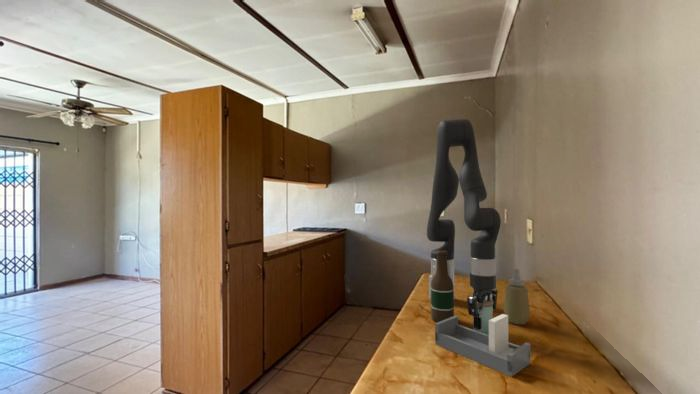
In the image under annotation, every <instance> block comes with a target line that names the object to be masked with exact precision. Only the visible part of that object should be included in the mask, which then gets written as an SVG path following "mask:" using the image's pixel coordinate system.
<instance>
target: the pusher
mask: <svg viewBox="0 0 700 394" xmlns="http://www.w3.org/2000/svg"><path fill="white" fill-rule="evenodd" d="M508 342H509V322H508V315H505V313H501V314H499V315H497V316H496V317H493V319H491V320H489V352H492V353H495V354H497V355H500V356H502V357H505V358H507V354H509V353H510V352H512V351H513V350H515V349H512V348H510V347H508Z"/></svg>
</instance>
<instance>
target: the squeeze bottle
mask: <svg viewBox="0 0 700 394" xmlns="http://www.w3.org/2000/svg"><path fill="white" fill-rule="evenodd" d="M503 301H504V302H503V312H504V314H505V315H508V323H511V324H514V325H518V326H519V325H526V324H527V323H528V320H529V318H530V315H531V311H530V309H531V308H530V303H529V302H530V301H529V293H528V288H527V287H526V286H525V280H524V279H522V278H521V274H520V271H519V268H514V269H513V273H512V277H511V278H509V279H508V284H507V285H505V294H504V300H503Z"/></svg>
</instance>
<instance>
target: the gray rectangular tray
mask: <svg viewBox="0 0 700 394" xmlns="http://www.w3.org/2000/svg"><path fill="white" fill-rule="evenodd" d="M434 330H435V331H434V332H435V333H434V335H435V336H434V339H435V340H434V341H435V342H434V343H435V345H436V346H439V347H441V348H444V349H446V350H448V351H451V352H452V353H455V354H457V355H460V356H461V357H465V358H466V359H469V360H471V361H473V362H476V363H479V364H480V365H483V366H486V367H488V368H490V369H492V370H494V371H497V372H499V373H501V374H504V375H506V376H508V377H510V378H512V377H514V376H515V375H516V374H517V373H519V372H520V371H522V370H523V369H524V368H526V367H527V366H529V365H530V364H531V343H529V342H525V343H522V344H521V345H518V344H515V343H512V342H509V341H508V347H510V348H512V349H515V350H513V351H512V352H510V353H509V354H507V358H505V357H502V356H500V355H497V354H495V353H492V352H489V335H487V334H484V333H481V332H478V331H475V330H473V328H470V327H467V326H464V325H462V324H459V315H455V314H454V316H453V317H450V318H448V319H445V320H443V321H440V322H438V323H437V322H434Z"/></svg>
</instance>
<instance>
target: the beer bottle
mask: <svg viewBox="0 0 700 394" xmlns="http://www.w3.org/2000/svg"><path fill="white" fill-rule="evenodd" d="M436 254H437V268H436V274H435V275H434V276H433V278H432V281H431V299H430V318H431V320H432V321H433V322H434V323H438V322H440V321H443V320H445V319H448V318H450V317H453V316H455V306H454V305H455V286H454V287H453V282H452V279H451V278H450V276H449V275H448V268H447V251H445V250H438V251H437V253H436Z"/></svg>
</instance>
